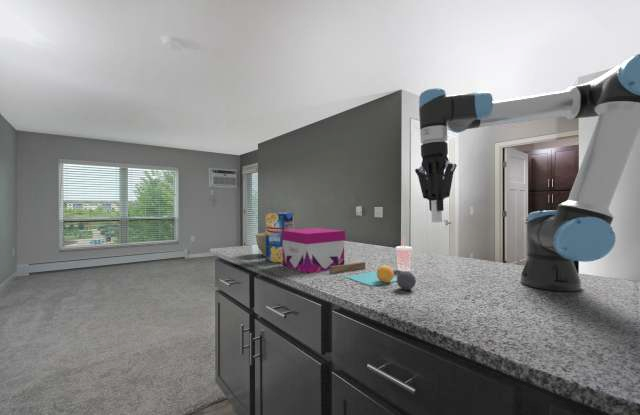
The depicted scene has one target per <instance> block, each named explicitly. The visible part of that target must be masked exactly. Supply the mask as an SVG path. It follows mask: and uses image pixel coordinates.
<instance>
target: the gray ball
mask: <svg viewBox="0 0 640 415" xmlns="http://www.w3.org/2000/svg"><path fill="white" fill-rule="evenodd" d="M396 278H397V281H396V283H397V285H398V287H399V288H401V289H402V290H405V291H409V290H412V289H413V288H414V287H415V286H416V276H415V275H414V274H413V273H412V272H411V271H400V272H399V273H398V275H397V277H396Z"/></svg>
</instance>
